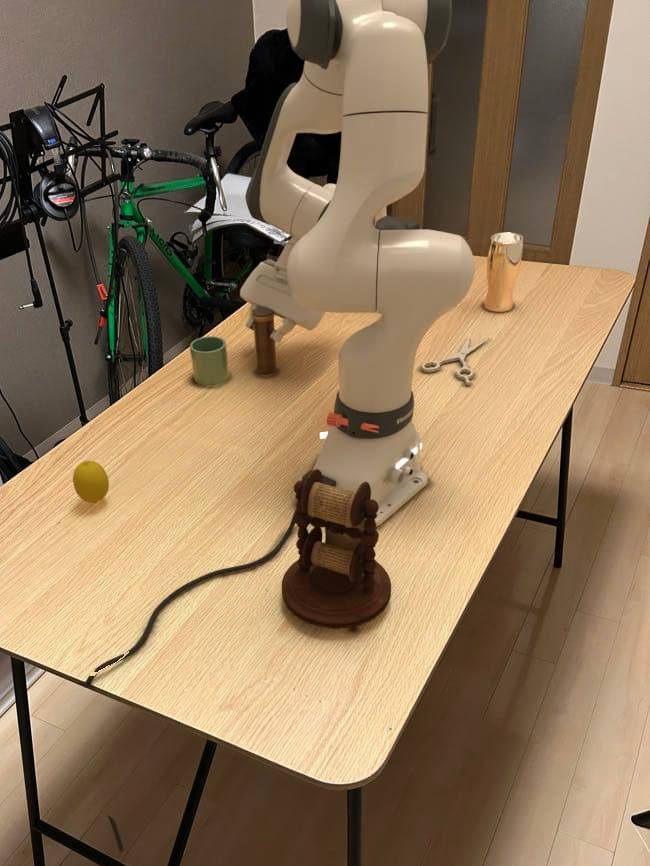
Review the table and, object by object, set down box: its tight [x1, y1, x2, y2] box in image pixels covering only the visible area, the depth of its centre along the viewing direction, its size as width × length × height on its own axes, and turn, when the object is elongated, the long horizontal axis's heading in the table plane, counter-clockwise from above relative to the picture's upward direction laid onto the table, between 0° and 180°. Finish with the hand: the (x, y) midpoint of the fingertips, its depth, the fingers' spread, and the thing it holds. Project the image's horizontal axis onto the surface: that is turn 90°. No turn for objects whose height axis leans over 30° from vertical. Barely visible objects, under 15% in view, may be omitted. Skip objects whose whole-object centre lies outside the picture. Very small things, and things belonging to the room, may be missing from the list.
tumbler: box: [189, 335, 230, 386], centre depth 161 cm, size 7×7×8 cm
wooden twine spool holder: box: [281, 469, 392, 633], centre depth 106 cm, size 15×15×20 cm
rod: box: [252, 307, 278, 376], centre depth 160 cm, size 4×4×13 cm
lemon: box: [72, 460, 110, 504], centre depth 132 cm, size 6×6×8 cm
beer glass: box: [483, 231, 524, 313], centre depth 175 cm, size 7×7×15 cm
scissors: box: [421, 333, 491, 386], centre depth 162 cm, size 11×1×20 cm
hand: (261, 334), depth 158 cm, fingers open, 6 cm apart
